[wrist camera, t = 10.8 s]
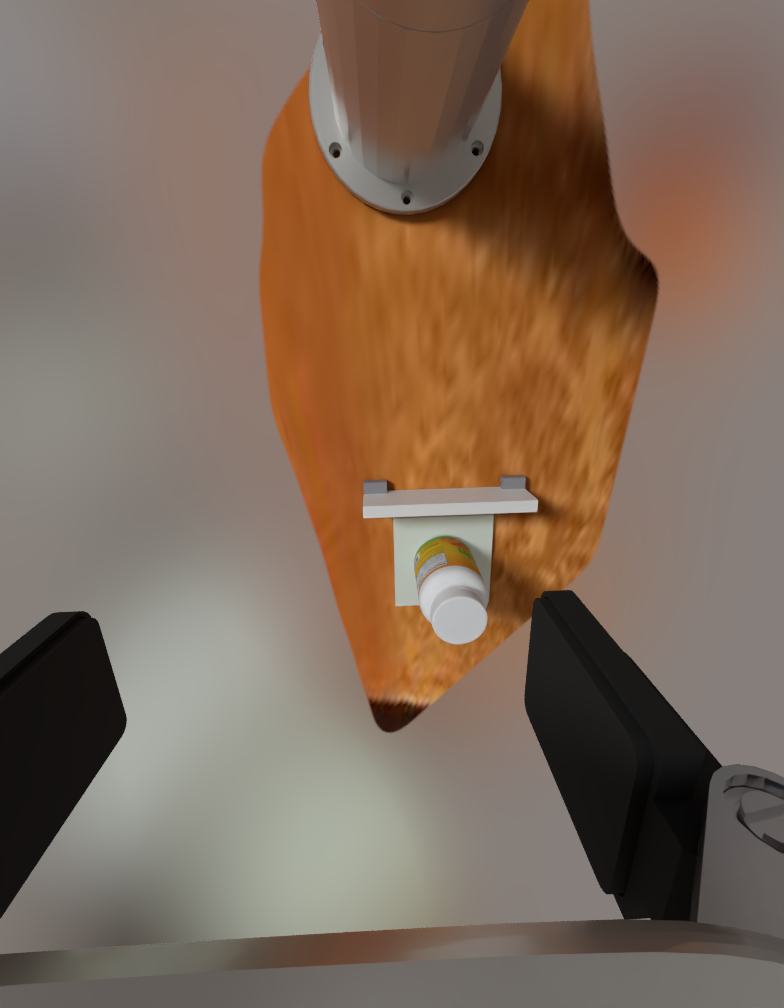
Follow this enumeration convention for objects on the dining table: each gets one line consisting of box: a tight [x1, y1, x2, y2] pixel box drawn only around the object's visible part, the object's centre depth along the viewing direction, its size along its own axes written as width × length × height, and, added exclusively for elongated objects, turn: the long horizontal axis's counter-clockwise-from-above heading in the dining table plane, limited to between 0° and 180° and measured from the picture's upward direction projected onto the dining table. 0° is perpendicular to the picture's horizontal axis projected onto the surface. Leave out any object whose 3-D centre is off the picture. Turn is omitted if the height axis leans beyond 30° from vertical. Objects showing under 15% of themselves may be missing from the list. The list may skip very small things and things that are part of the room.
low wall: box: [363, 475, 538, 518], centre depth 36 cm, size 3×14×4 cm, turn 91°
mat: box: [393, 514, 494, 606], centre depth 40 cm, size 9×9×1 cm
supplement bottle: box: [414, 535, 488, 644], centre depth 35 cm, size 5×5×10 cm
